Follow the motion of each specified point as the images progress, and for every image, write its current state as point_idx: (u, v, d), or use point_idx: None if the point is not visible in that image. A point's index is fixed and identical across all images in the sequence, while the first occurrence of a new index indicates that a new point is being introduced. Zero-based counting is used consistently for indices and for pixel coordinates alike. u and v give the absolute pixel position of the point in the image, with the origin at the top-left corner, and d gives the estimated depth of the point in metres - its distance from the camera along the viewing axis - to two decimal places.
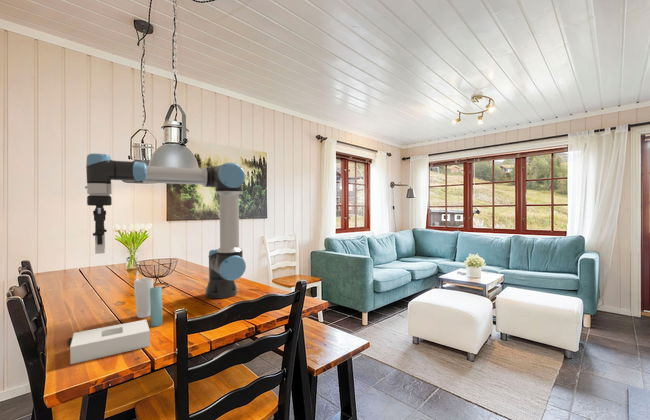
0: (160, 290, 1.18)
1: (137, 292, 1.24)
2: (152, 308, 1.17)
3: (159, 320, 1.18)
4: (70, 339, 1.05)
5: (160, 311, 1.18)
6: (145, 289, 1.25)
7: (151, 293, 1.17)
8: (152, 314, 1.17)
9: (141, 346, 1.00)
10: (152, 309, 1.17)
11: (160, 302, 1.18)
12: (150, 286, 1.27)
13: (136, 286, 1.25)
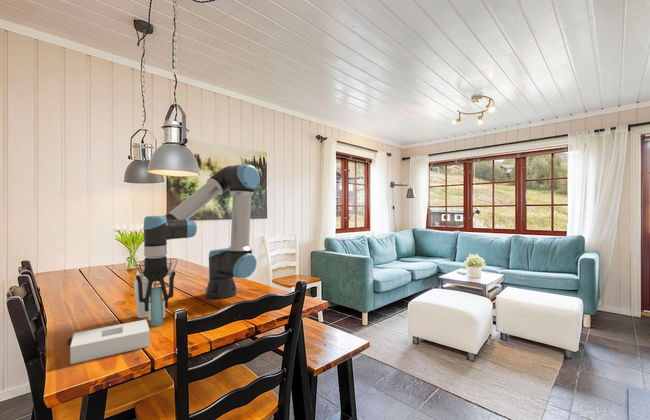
0: (160, 290, 1.18)
1: (137, 292, 1.24)
2: (152, 308, 1.17)
3: (159, 319, 1.18)
4: (70, 339, 1.05)
5: (160, 311, 1.18)
6: (145, 289, 1.25)
7: (151, 293, 1.17)
8: (152, 314, 1.17)
9: (141, 346, 1.00)
10: (152, 309, 1.17)
11: (160, 302, 1.18)
12: None
13: (136, 286, 1.25)
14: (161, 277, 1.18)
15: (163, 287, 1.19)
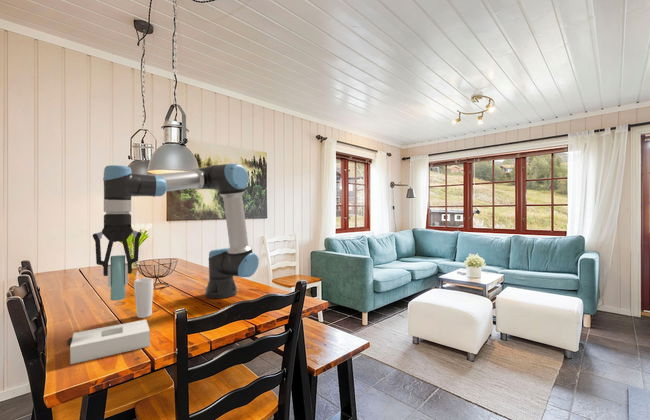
0: (122, 258, 1.02)
1: (137, 292, 1.24)
2: (112, 279, 1.01)
3: (121, 293, 1.02)
4: (70, 339, 1.05)
5: (122, 283, 1.02)
6: (145, 289, 1.25)
7: (111, 261, 1.01)
8: (112, 286, 1.01)
9: (141, 346, 1.00)
10: (112, 280, 1.01)
11: (122, 272, 1.02)
12: (150, 286, 1.27)
13: (136, 286, 1.25)
14: (123, 237, 1.02)
15: (126, 249, 1.03)
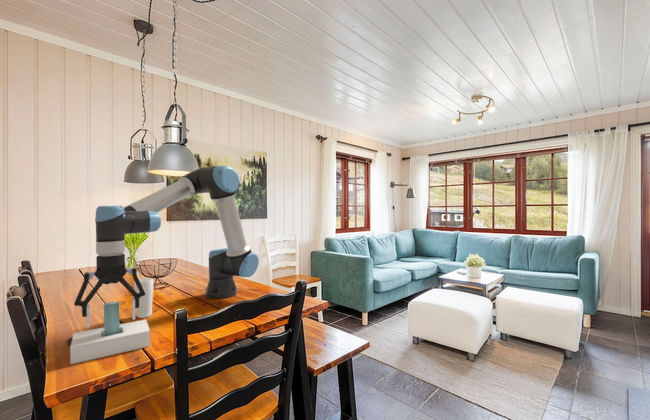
0: (116, 306, 0.99)
1: (137, 292, 1.24)
2: (106, 328, 0.98)
3: None
4: (70, 339, 1.05)
5: (116, 332, 1.00)
6: (145, 289, 1.25)
7: (105, 310, 0.98)
8: (106, 335, 0.98)
9: (141, 346, 1.00)
10: (106, 329, 0.98)
11: (116, 321, 1.00)
12: (150, 286, 1.27)
13: (136, 286, 1.25)
14: (119, 277, 1.00)
15: (127, 287, 1.01)
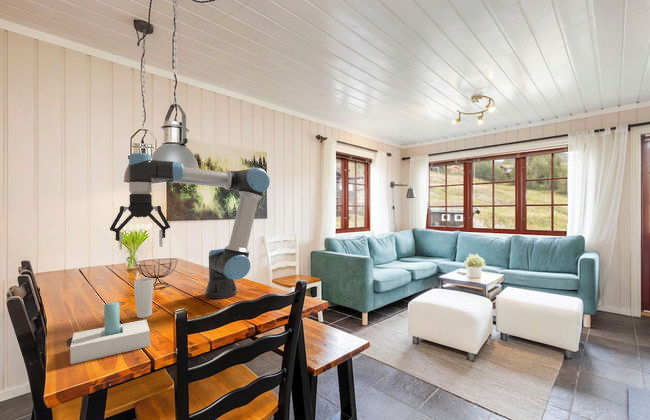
0: (116, 306, 1.00)
1: (137, 292, 1.25)
2: (106, 328, 0.98)
3: None
4: (70, 339, 1.05)
5: (116, 332, 1.00)
6: (145, 289, 1.25)
7: (105, 310, 0.98)
8: (106, 335, 0.98)
9: (141, 346, 1.00)
10: (106, 329, 0.98)
11: (116, 321, 1.00)
12: (150, 286, 1.27)
13: (136, 286, 1.25)
14: (148, 212, 1.22)
15: (155, 220, 1.24)
